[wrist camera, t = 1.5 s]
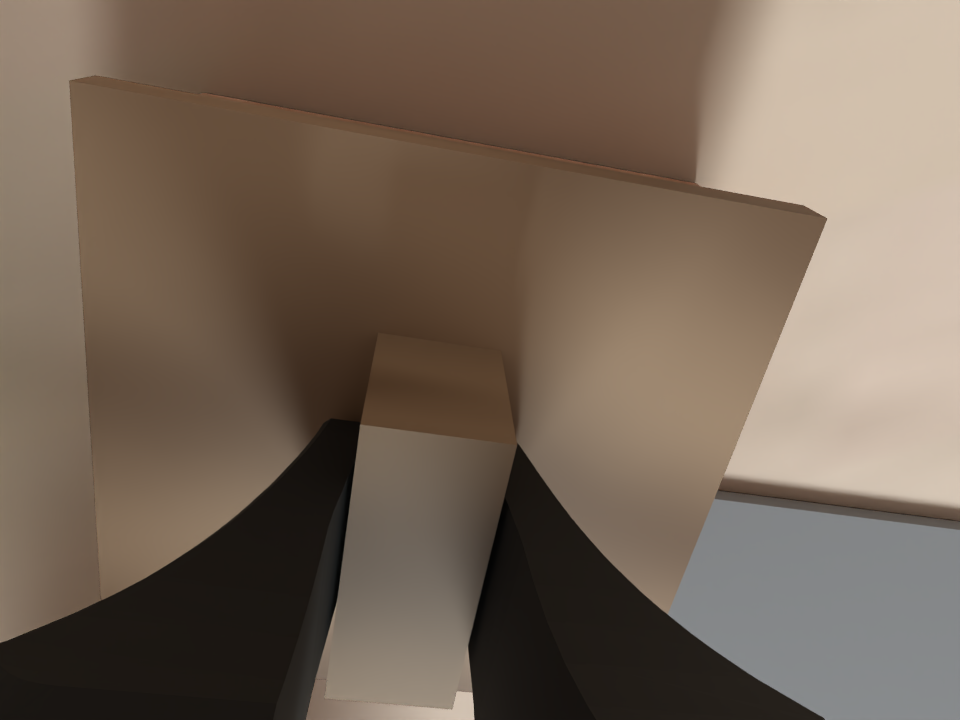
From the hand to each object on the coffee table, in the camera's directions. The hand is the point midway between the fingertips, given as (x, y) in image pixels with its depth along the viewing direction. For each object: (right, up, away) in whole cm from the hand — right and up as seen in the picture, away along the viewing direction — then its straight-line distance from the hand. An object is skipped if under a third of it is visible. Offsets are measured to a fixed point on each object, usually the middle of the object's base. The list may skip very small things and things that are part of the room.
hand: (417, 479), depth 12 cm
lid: (0, 0, +1) cm, 1 cm away
